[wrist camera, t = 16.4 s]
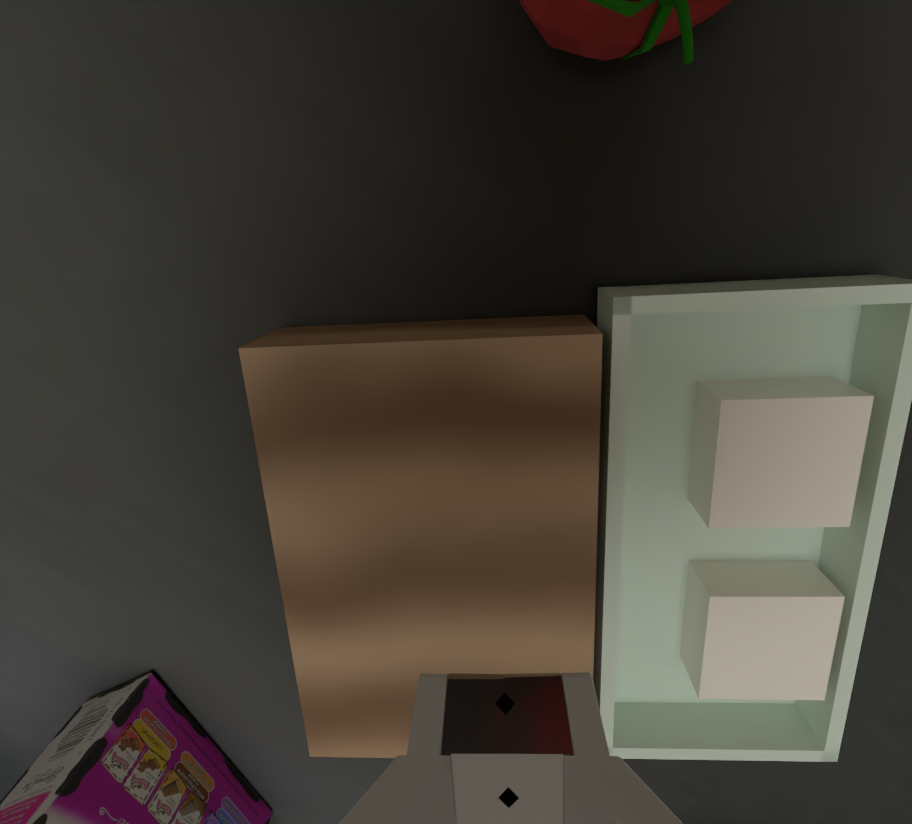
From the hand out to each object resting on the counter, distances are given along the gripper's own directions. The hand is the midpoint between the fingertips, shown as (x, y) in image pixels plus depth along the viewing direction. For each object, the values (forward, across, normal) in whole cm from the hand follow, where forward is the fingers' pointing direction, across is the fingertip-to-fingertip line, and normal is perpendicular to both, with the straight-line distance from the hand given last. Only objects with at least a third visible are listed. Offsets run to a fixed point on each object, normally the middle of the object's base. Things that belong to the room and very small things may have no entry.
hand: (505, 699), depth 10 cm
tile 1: (+11, -10, +9) cm, 18 cm away
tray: (+14, -9, +5) cm, 17 cm away
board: (+14, +2, +5) cm, 15 cm away
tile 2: (+11, -10, +1) cm, 15 cm away
